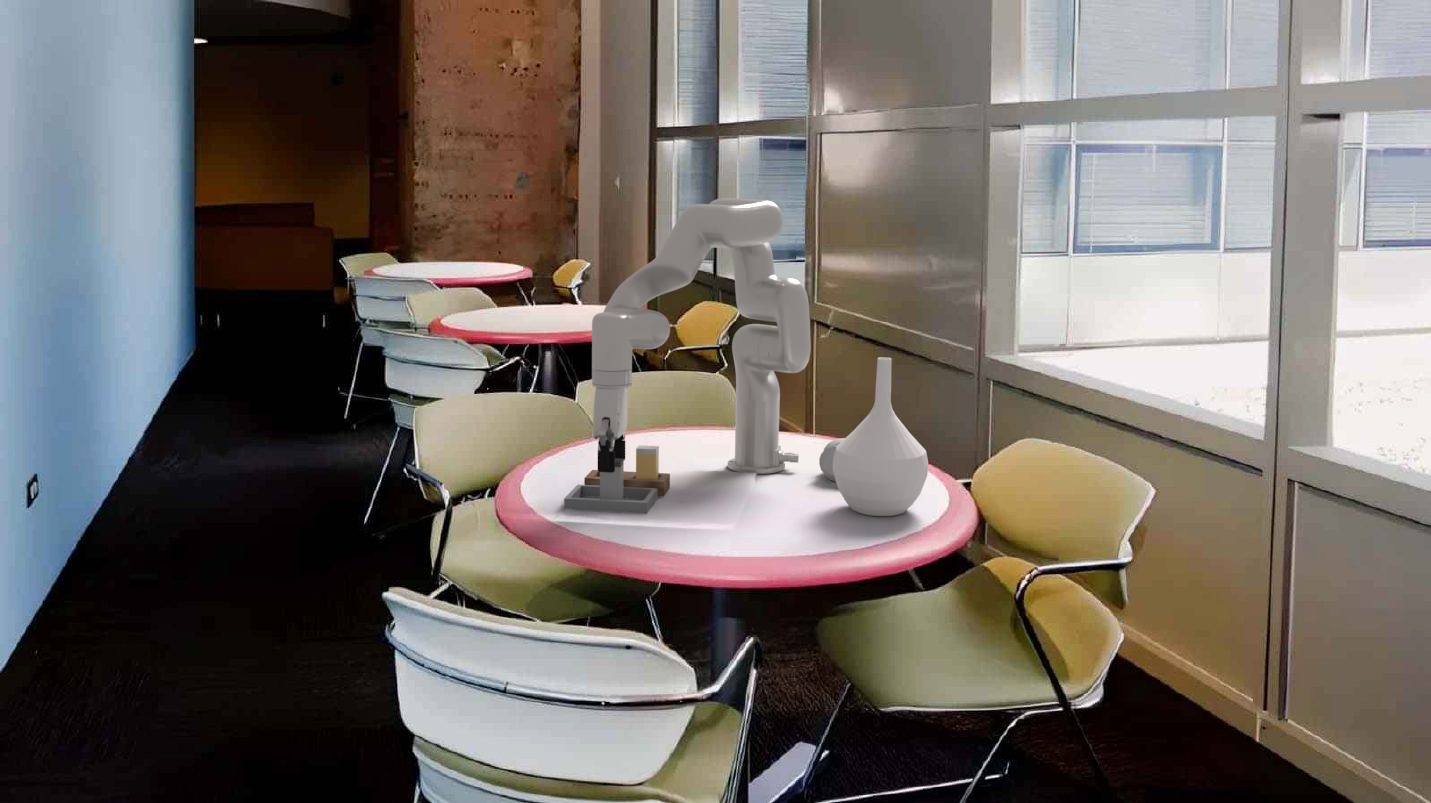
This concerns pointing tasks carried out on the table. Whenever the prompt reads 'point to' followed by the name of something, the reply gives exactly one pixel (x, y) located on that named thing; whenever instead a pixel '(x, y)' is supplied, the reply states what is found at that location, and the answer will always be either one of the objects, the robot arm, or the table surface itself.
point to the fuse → (647, 462)
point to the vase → (880, 458)
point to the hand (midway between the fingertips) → (611, 466)
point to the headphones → (829, 458)
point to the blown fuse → (612, 482)
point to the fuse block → (635, 481)
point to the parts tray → (579, 503)
